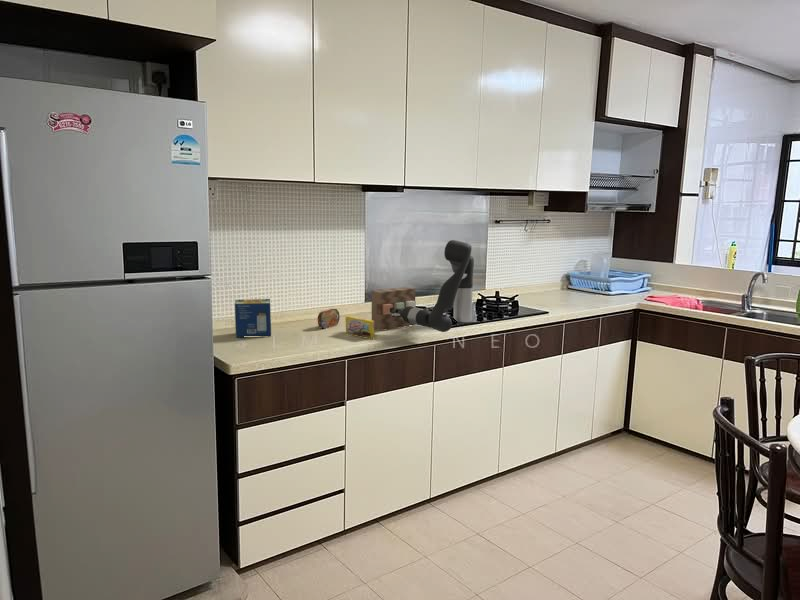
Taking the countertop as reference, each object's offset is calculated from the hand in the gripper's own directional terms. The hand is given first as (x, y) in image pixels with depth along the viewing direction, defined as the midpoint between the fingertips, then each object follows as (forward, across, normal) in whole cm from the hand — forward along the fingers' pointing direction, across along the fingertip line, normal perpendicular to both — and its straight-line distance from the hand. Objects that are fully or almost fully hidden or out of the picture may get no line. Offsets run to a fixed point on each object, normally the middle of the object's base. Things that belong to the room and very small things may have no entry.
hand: (391, 309), depth 273 cm
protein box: (+30, +54, +10) cm, 63 cm away
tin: (+25, +18, +10) cm, 33 cm away
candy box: (0, +18, +10) cm, 20 cm away
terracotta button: (+3, 0, +2) cm, 4 cm away
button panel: (+7, -7, +10) cm, 14 cm away
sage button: (+3, -7, +2) cm, 8 cm away
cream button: (+3, -14, +2) cm, 14 cm away
